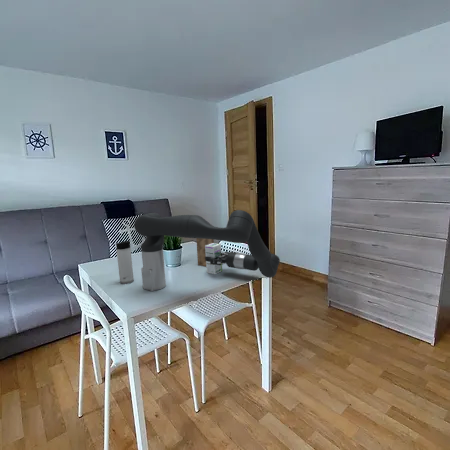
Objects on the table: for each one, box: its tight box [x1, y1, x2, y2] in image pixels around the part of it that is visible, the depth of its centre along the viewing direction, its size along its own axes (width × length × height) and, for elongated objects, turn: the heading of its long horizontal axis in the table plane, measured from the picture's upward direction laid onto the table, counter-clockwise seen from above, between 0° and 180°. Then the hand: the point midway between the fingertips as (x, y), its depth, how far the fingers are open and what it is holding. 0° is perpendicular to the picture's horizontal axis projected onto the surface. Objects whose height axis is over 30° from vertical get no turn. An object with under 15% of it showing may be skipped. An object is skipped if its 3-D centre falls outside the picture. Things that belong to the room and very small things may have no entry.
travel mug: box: [115, 240, 135, 285], centre depth 132 cm, size 6×7×20 cm
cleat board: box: [195, 238, 215, 268], centre depth 156 cm, size 14×11×18 cm
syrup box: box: [205, 242, 223, 275], centre depth 141 cm, size 6×6×14 cm
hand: (210, 256), depth 142 cm, fingers open, 8 cm apart
